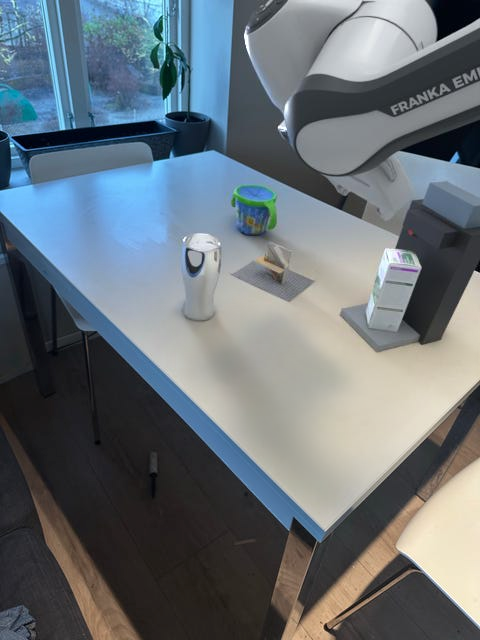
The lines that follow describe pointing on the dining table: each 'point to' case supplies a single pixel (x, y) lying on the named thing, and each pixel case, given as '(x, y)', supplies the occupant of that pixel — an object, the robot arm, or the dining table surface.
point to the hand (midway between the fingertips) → (365, 203)
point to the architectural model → (274, 274)
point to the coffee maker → (431, 266)
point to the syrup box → (392, 289)
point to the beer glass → (200, 274)
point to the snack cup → (254, 208)
